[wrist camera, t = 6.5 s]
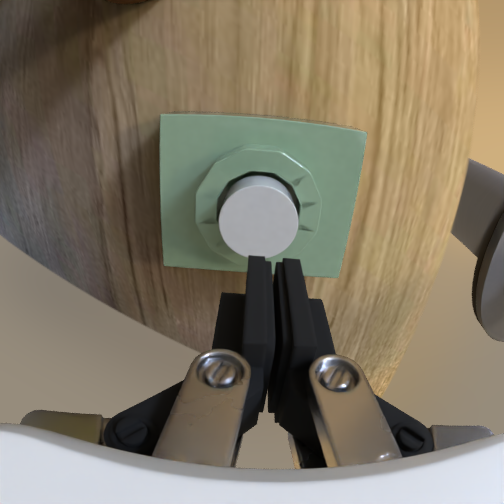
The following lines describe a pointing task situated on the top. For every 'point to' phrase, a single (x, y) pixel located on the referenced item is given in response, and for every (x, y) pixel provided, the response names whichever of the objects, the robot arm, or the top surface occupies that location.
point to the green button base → (249, 164)
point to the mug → (125, 1)
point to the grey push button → (258, 217)
